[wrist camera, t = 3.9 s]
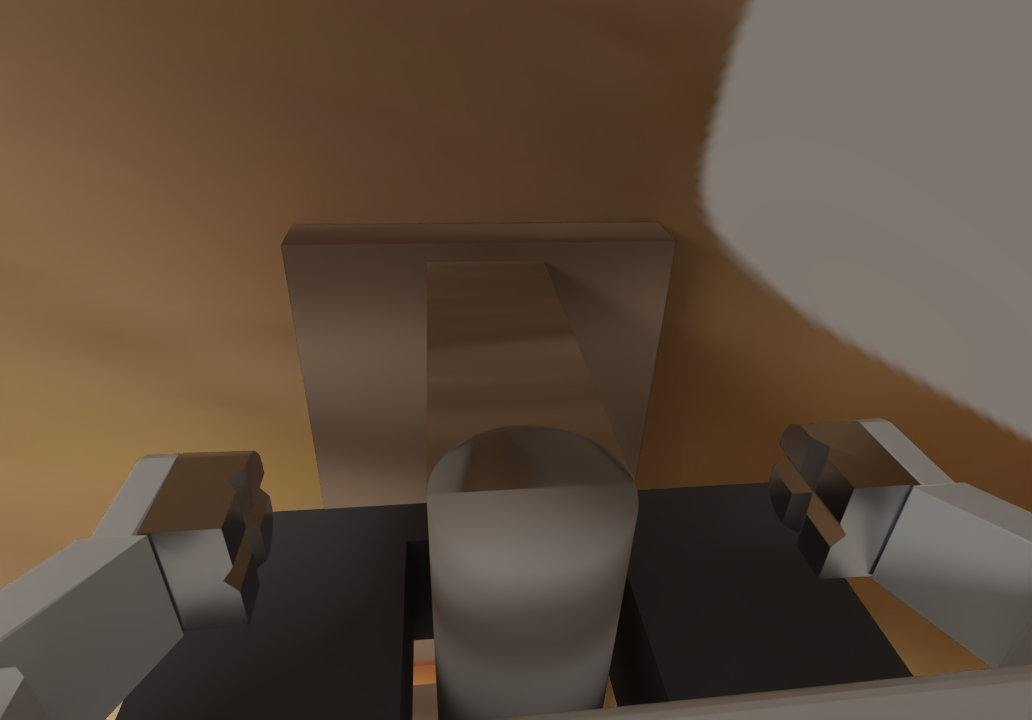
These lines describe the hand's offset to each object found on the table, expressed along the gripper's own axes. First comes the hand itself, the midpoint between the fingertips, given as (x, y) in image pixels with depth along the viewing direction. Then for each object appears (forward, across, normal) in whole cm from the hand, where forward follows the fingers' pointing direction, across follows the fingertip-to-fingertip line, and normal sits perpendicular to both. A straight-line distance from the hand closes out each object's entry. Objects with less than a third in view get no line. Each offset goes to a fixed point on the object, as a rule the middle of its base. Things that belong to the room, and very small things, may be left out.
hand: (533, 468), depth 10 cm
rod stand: (+9, 0, +12) cm, 15 cm away
